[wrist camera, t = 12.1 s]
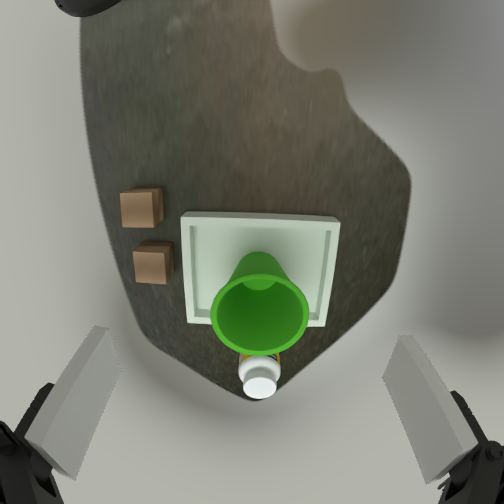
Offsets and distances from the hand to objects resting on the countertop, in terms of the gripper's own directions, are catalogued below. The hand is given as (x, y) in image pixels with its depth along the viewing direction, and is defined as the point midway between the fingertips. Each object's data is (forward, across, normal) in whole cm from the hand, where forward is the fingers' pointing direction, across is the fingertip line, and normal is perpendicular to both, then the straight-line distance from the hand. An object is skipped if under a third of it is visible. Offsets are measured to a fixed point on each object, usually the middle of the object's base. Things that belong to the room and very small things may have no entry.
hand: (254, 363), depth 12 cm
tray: (+24, +1, -7) cm, 25 cm away
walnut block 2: (+25, -12, -6) cm, 28 cm away
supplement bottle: (+24, +2, -18) cm, 31 cm away
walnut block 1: (+25, -13, +1) cm, 28 cm away
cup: (+24, +1, -7) cm, 24 cm away
